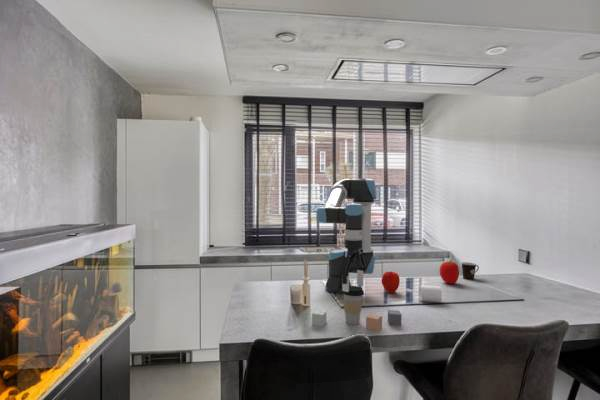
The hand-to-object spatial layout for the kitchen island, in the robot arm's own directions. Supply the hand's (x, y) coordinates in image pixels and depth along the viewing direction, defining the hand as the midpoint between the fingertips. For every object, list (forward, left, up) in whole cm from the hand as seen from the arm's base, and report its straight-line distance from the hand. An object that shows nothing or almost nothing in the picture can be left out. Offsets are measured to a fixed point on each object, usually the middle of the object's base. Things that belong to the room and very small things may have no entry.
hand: (353, 288), depth 150 cm
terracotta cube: (+10, 0, -15) cm, 18 cm away
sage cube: (-11, -10, -15) cm, 21 cm away
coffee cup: (0, 0, -15) cm, 15 cm away
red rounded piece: (-4, +54, -15) cm, 57 cm away
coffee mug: (+27, +117, -15) cm, 121 cm away
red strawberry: (+18, +96, -15) cm, 99 cm away
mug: (+18, +53, -16) cm, 58 cm away
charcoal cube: (+15, +10, -15) cm, 24 cm away
